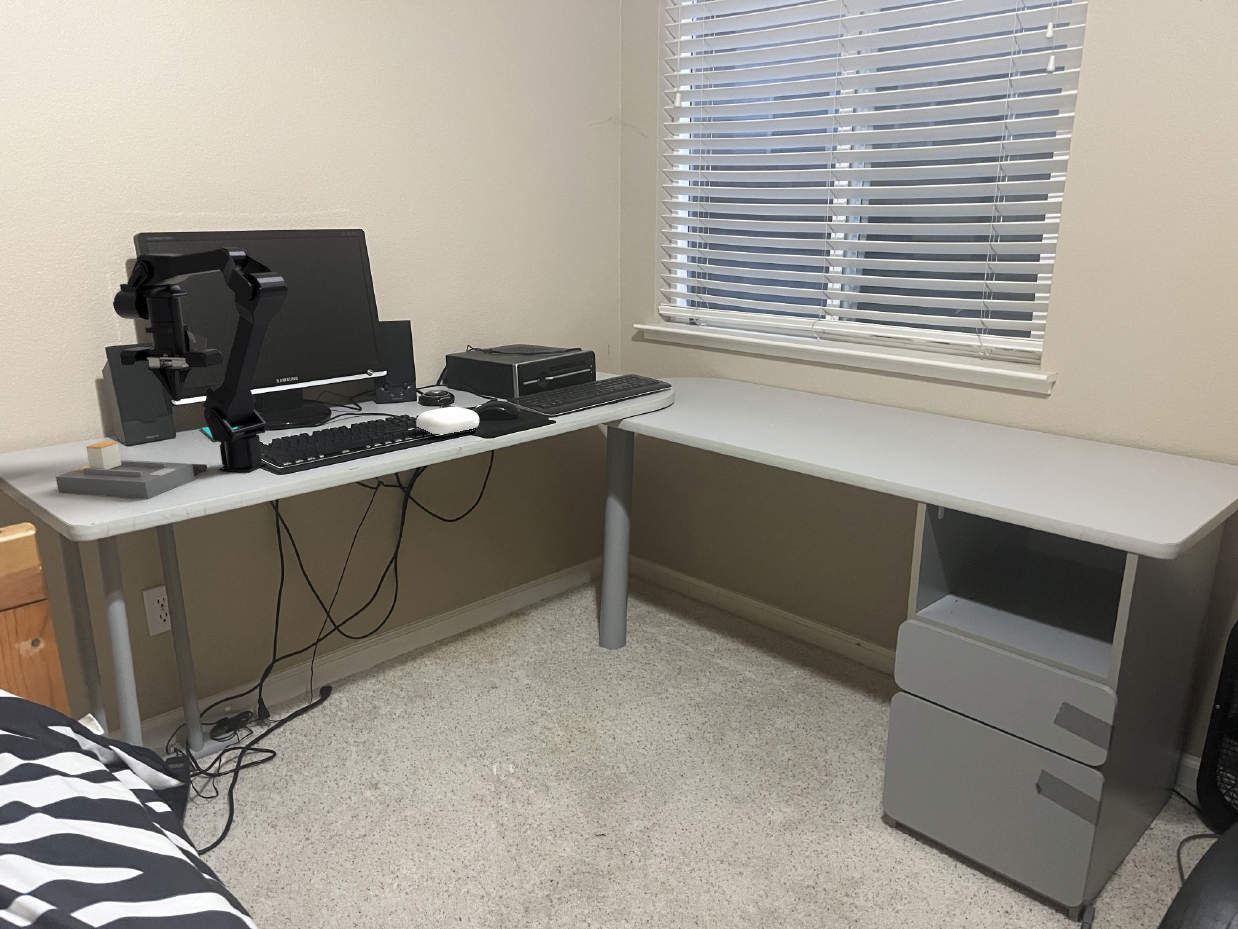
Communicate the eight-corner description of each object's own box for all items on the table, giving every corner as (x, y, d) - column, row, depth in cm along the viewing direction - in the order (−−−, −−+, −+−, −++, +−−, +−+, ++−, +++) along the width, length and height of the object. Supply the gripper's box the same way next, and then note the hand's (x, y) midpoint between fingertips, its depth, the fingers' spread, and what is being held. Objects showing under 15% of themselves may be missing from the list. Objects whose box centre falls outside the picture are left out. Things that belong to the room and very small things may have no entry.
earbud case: (411, 434, 196) (409, 410, 194) (460, 425, 204) (459, 402, 203) (435, 442, 188) (434, 417, 187) (485, 432, 197) (484, 408, 196)
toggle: (121, 464, 158) (117, 441, 157) (104, 470, 154) (100, 447, 153) (107, 464, 159) (103, 441, 158) (90, 469, 155) (86, 446, 154)
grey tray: (194, 479, 160) (191, 459, 159) (147, 499, 149) (144, 477, 148) (110, 474, 164) (107, 454, 163) (58, 493, 153) (54, 472, 152)
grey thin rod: (207, 470, 166) (206, 463, 166) (203, 472, 165) (202, 465, 165) (141, 468, 168) (140, 461, 168) (136, 470, 167) (135, 463, 166)
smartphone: (233, 423, 204) (249, 435, 192) (233, 426, 204) (249, 439, 192) (199, 427, 200) (213, 440, 188) (200, 431, 200) (214, 444, 188)
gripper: (235, 317, 172) (245, 394, 176) (153, 315, 176) (164, 391, 180) (198, 323, 162) (209, 405, 166) (111, 321, 165) (124, 402, 170)
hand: (177, 400), depth 171 cm, fingers closed
